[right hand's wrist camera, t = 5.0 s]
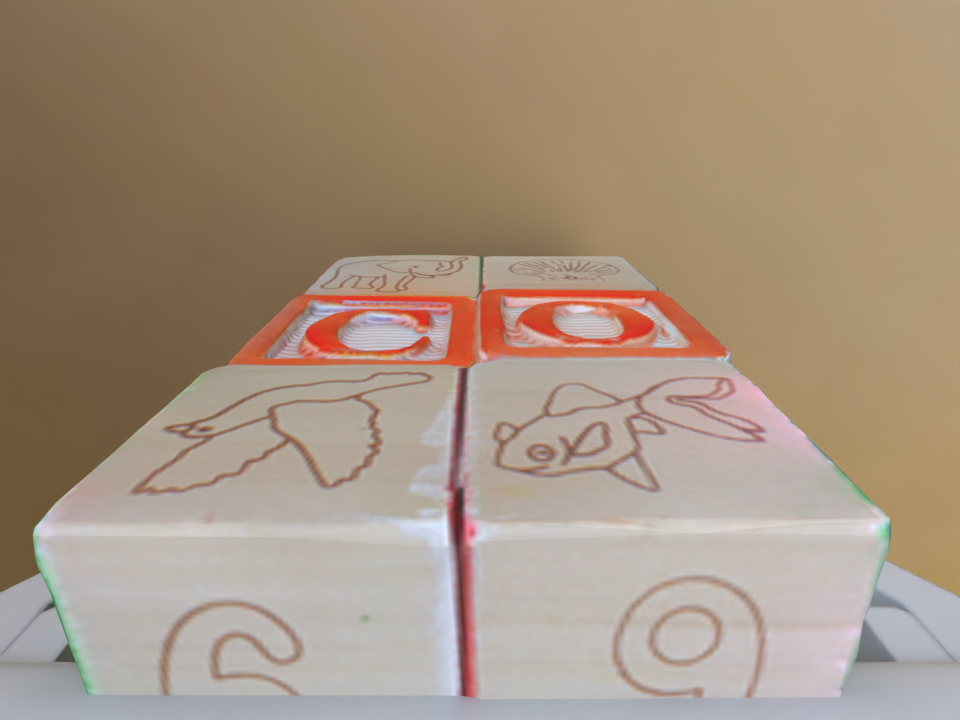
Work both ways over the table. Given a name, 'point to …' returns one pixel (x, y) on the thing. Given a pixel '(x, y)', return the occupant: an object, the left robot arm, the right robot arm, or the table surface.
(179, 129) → the table surface
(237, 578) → the stack of blocks
